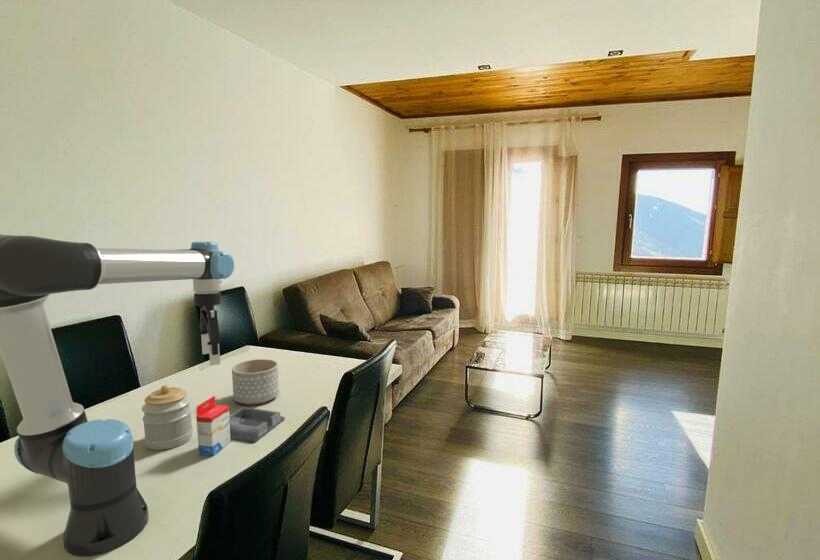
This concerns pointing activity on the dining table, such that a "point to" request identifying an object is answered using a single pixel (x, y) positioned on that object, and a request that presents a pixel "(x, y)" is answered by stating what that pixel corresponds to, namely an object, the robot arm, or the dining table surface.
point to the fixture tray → (253, 423)
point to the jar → (167, 418)
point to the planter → (255, 381)
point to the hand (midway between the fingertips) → (210, 358)
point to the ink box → (212, 427)
